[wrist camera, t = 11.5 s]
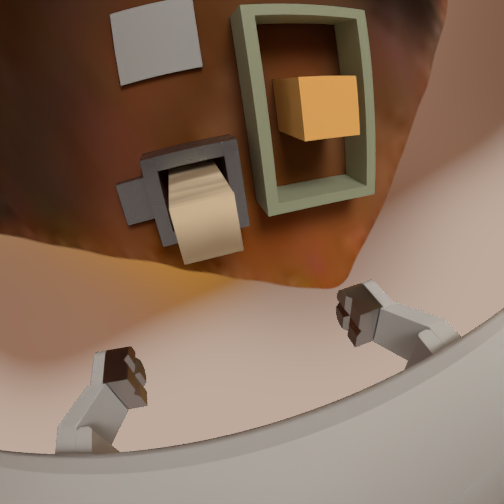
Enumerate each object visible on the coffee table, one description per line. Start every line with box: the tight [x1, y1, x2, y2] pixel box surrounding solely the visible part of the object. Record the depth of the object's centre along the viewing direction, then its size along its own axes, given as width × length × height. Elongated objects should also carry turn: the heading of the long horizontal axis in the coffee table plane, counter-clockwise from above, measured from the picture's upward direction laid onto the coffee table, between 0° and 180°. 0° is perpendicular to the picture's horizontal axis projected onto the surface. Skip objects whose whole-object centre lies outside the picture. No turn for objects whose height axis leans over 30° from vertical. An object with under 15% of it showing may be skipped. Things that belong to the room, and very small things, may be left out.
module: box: [272, 76, 360, 141], centre depth 23 cm, size 5×5×6 cm
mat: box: [110, 0, 203, 86], centre depth 20 cm, size 7×7×1 cm
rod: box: [169, 159, 244, 265], centre depth 23 cm, size 4×4×10 cm
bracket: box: [116, 134, 250, 247], centre depth 26 cm, size 8×11×3 cm
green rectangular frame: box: [230, 4, 375, 217], centre depth 24 cm, size 18×11×4 cm, turn 8°
